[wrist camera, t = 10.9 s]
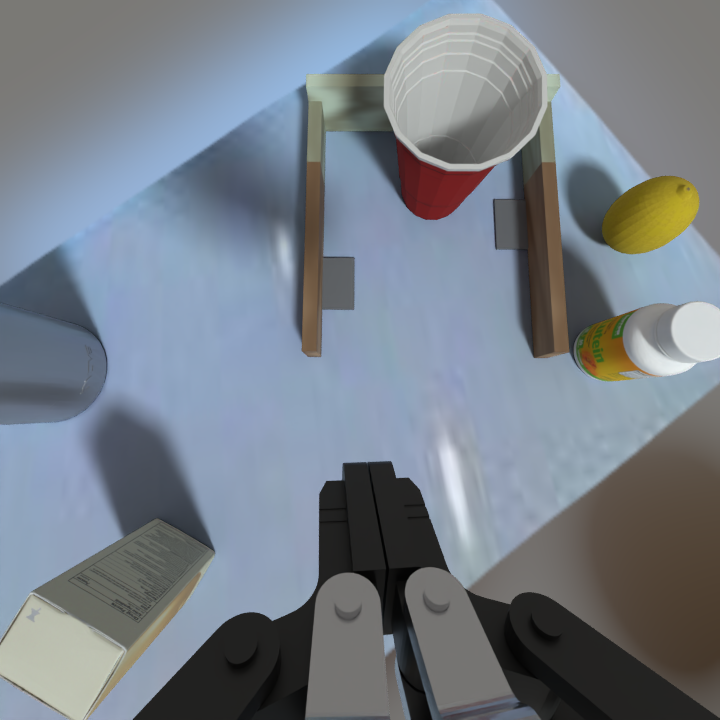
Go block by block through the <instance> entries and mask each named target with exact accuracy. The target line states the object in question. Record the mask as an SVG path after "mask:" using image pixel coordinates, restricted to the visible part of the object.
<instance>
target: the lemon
mask: <svg viewBox="0 0 720 720" xmlns="http://www.w3.org/2000/svg"><path fill="white" fill-rule="evenodd" d="M698 207H699V197H698V192H697V190H696V188H695V187H694V186H693V184H691V183H690V182H689V181H687V180H685V179H683V178H680V177H675V176H661V177H656V178H652V179H649V180H647V181H645V182H642V183H640V184H638V185H636V186H635V187H633V188H631V189H629V190H628V191H626V192H625V193H624V194H623V195H621V196H620V197H619V198H618V199H617V200H616V201H615V202H614V203H613V204H612V205H611V207H610V208H609V210H608V211H607V213H606V215H605V217H604V220H603V223H602V234H603V238H604V240H605V241H606V243H607V244H608V245H609V246H610V247H611V248H612V249H614V250H616V251H618V252H621V253H626V254H640V253H646V252H649V251H652V250H654V249H657V248H660V247H662V246H664V245H665V244H667V243H669V242H670V241H671V240H673V239H674V238H676V237H677V236H678V235H680V234H681V233H682V232H683V231H684V230H685V229H686V228H687V227H688V226H689V225H690V223H691V222H692V221H693V219H694V218H695V216H696V213H697V211H698Z"/></svg>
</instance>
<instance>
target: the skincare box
mask: <svg viewBox="0 0 720 720" xmlns="http://www.w3.org/2000/svg"><path fill="white" fill-rule="evenodd" d="M214 556H215V552H214V551H213V550H211V549H210V548H208V547H207V546H205V545H203V544H202V543H200V542H199V541H197V540H195V539H194V538H192V537H190V536H188V535H187V534H185V533H183V532H182V531H180V530H178V529H176V528H174V527H173V526H171V525H169V524H167V523H165V522H163V521H162V520H160V519H158V518H157V519H154V520H153V521H151V522H149V523H147V524H146V525H144V526H142V527H141V528H139V529H137V530H136V531H134V532H132V533H130V534H129V535H127V536H125V537H124V538H122V539H120V540H118V541H117V542H115V543H113V544H112V545H110V546H108V547H107V548H105V549H103V550H102V551H100V552H98V553H96V554H95V555H93V556H91V557H90V558H88V559H86V560H85V561H83V562H81V563H79V564H78V565H76V566H74V567H73V568H71V569H69V570H68V571H66V572H64V573H62V574H61V575H59V576H57V577H56V578H54V579H52V580H51V581H49V582H47V583H45V584H44V585H42V586H40V587H38V588H37V589H35V590H33V591H32V592H31V593H30V594H29V595H28V597H27V598H26V600H25V602H24V603H23V605H22V606H21V608H20V609H19V611H18V613H17V614H16V616H15V617H14V619H13V620H12V622H11V624H10V625H9V627H8V628H7V630H6V631H5V633H4V634H3V636H2V638H1V639H0V677H1V678H2V679H3V680H5V681H7V682H8V683H9V684H11V685H13V686H14V687H16V688H17V689H19V690H20V691H22V692H24V693H26V694H27V695H29V696H30V697H32V698H33V699H35V700H37V701H38V702H40V703H42V704H43V705H45V706H46V707H48V708H50V709H52V710H53V711H55V712H57V713H59V714H60V715H62V716H64V717H65V718H67V719H69V720H87V719H88V718H89V716H90V715H91V714H92V713H93V712H94V710H95V709H96V708H97V707H98V706H99V704H100V703H101V702H102V701H103V700H104V698H105V697H106V696H107V695H108V694H109V693H110V691H111V690H112V689H113V688H114V687H115V685H116V684H117V683H118V682H119V681H120V680H121V678H122V677H123V676H124V675H125V674H126V672H127V671H128V670H129V669H130V668H131V667H132V665H133V664H134V663H135V662H136V661H137V660H138V658H139V657H140V656H141V655H142V654H143V652H144V651H145V650H146V649H147V648H148V647H149V645H150V644H151V643H152V642H153V641H154V639H155V638H156V637H157V636H158V635H159V634H160V632H161V631H162V630H163V629H164V628H165V626H166V625H167V624H168V623H169V622H170V621H171V619H172V618H173V617H174V616H175V615H176V613H177V612H178V611H179V610H180V609H181V608H182V606H183V605H184V604H185V603H186V602H187V601H188V599H189V598H190V597H191V595H192V593H193V592H194V590H195V589H196V587H197V585H198V584H199V582H200V580H201V579H202V577H203V575H204V574H205V572H206V570H207V568H208V567H209V565H210V563H211V561H212V560H213V558H214Z"/></svg>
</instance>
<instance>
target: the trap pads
mask: <svg viewBox="0 0 720 720" xmlns="http://www.w3.org/2000/svg"><path fill="white" fill-rule="evenodd" d="M494 214H495V235H496V249H527V250H528V232H527V216H526V200H494ZM322 309H334V310H354V258H323V279H322Z"/></svg>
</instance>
